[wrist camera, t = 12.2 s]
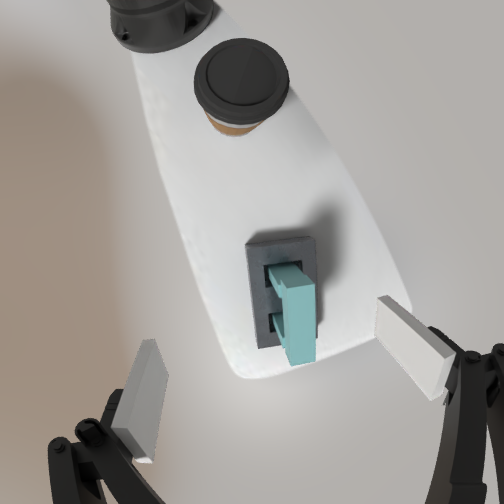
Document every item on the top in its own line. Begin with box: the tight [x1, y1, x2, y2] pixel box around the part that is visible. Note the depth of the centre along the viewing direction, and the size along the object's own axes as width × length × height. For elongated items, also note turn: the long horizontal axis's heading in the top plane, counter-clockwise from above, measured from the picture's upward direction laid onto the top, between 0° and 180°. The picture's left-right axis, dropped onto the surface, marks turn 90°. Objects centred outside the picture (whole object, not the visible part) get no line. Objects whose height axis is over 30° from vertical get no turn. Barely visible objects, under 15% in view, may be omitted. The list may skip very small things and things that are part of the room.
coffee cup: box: [194, 38, 290, 137], centre depth 26 cm, size 8×8×15 cm
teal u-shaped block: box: [267, 261, 316, 366], centre depth 35 cm, size 10×4×11 cm, turn 6°
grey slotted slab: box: [245, 237, 318, 349], centre depth 39 cm, size 15×9×2 cm, turn 6°
